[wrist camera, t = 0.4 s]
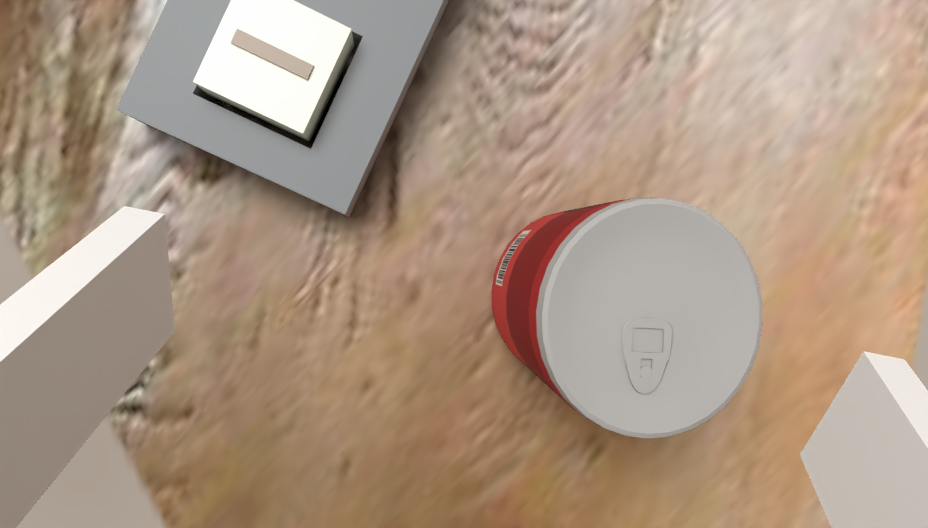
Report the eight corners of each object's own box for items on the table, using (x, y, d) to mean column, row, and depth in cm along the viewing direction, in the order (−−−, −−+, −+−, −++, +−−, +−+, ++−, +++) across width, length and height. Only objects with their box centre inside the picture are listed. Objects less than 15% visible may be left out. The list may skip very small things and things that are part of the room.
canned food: (506, 390, 32) (567, 466, 21) (472, 230, 32) (516, 223, 21) (654, 354, 33) (786, 410, 22) (623, 197, 33) (741, 174, 22)
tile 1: (309, 142, 28) (302, 133, 26) (207, 94, 28) (191, 81, 26) (354, 45, 28) (351, 27, 26) (253, -4, 28) (241, -27, 26)
